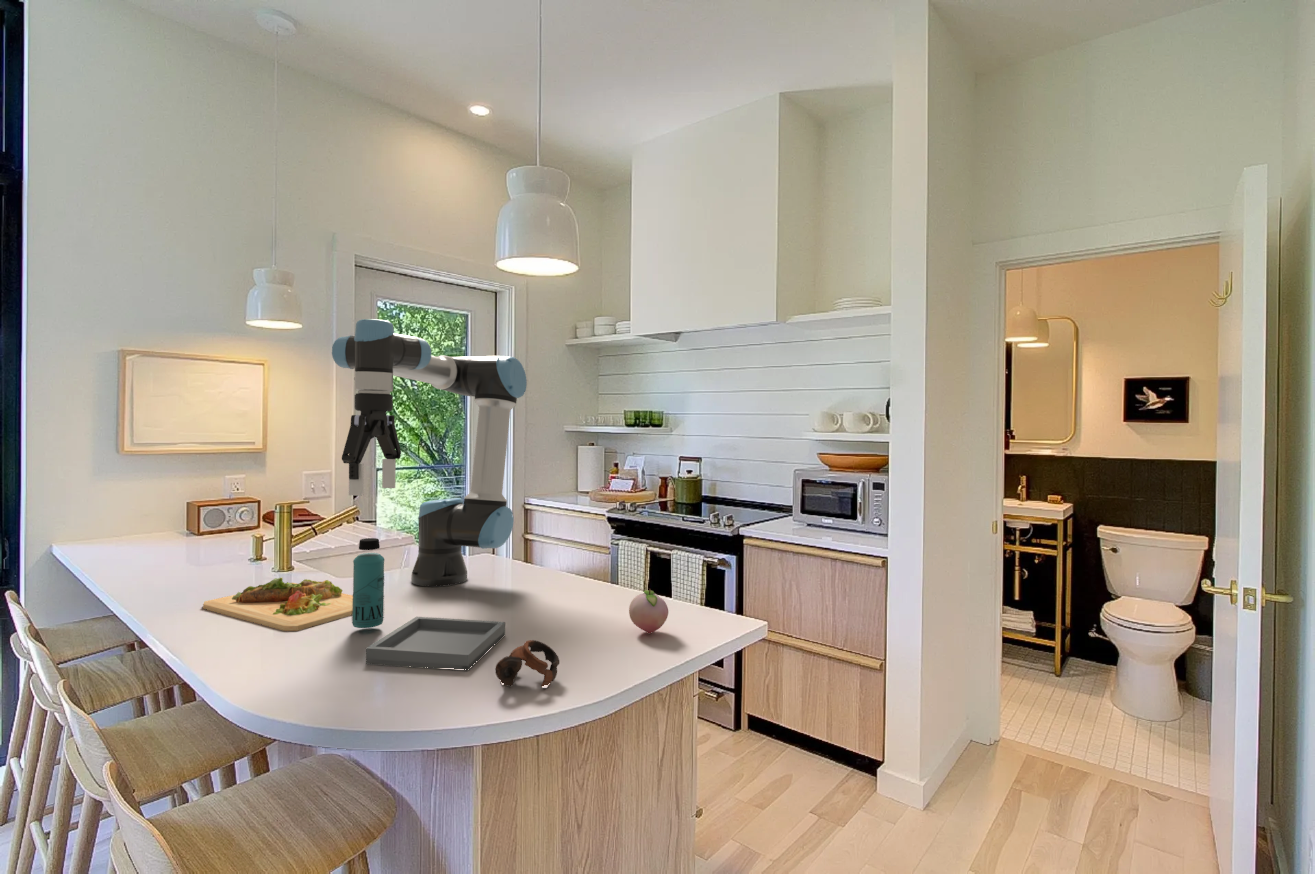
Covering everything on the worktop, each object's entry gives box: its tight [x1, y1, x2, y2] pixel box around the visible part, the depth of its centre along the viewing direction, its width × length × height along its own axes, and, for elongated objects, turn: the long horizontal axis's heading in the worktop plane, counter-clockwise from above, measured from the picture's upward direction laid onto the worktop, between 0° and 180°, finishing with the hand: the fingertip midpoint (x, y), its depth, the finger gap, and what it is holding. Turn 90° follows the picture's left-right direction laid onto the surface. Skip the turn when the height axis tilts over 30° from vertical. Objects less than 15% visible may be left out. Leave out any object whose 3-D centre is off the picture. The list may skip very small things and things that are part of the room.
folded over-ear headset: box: [494, 639, 560, 687], centre depth 115 cm, size 12×10×8 cm
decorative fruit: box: [628, 588, 669, 634], centre depth 144 cm, size 9×8×10 cm
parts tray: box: [365, 616, 506, 670], centre depth 131 cm, size 20×20×3 cm
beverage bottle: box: [351, 537, 386, 629], centre depth 141 cm, size 6×7×20 cm
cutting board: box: [202, 576, 353, 632], centre depth 157 cm, size 35×23×8 cm
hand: (373, 491), depth 140 cm, fingers open, 13 cm apart
